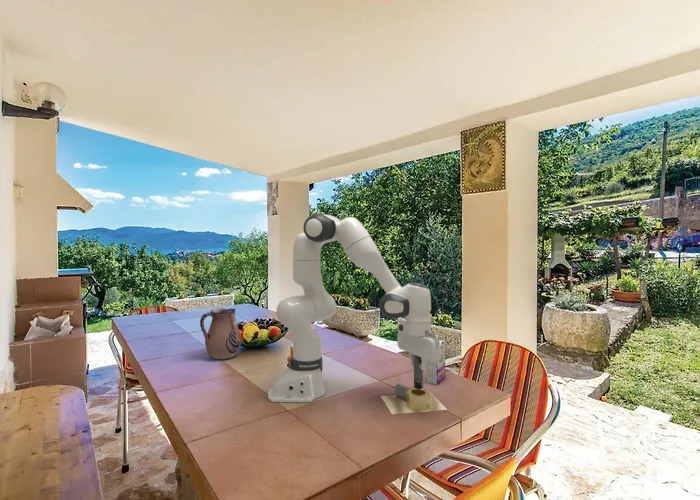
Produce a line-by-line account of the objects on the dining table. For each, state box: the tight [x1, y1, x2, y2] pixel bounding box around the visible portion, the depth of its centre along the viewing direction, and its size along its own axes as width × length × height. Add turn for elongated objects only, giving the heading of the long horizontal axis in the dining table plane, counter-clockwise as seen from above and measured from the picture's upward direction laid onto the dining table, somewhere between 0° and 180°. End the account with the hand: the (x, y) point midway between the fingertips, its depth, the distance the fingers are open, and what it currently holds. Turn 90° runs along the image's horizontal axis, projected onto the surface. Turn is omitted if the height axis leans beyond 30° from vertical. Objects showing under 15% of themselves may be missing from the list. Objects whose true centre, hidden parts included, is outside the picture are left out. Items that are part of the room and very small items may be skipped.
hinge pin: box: [413, 355, 424, 389], centre depth 130 cm, size 3×3×11 cm
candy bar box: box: [426, 339, 446, 386], centre depth 160 cm, size 11×5×16 cm, turn 148°
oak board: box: [380, 392, 448, 415], centre depth 133 cm, size 20×15×2 cm
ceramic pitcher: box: [199, 307, 242, 360], centre depth 191 cm, size 18×21×25 cm
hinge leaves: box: [395, 381, 431, 411], centre depth 133 cm, size 11×13×5 cm
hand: (418, 367), depth 130 cm, fingers closed on hinge pin, 3 cm apart
